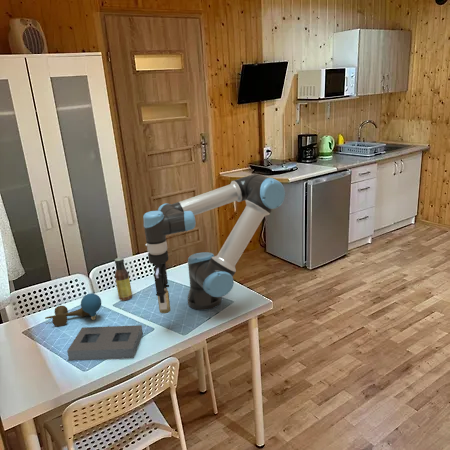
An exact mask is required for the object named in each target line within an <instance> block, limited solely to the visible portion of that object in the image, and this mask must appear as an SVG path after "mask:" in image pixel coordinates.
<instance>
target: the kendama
mask: <svg viewBox="0 0 450 450" xmlns="http://www.w3.org/2000/svg"><path fill="white" fill-rule="evenodd" d="M68 311H69V310H68V307H66V306H65V305H57V306H56V307H55V308H54V315H49V316H46V317H45V316H44V319H45V320H47V319H52V324H53V325H54V327H58V328H59V327H64V326H65V325H67V323H68V317H82V318H84V317H86V316H87V317H88V316H90V314H89V313H86V312H85V311H83V309H82V308H81V307H80V308H79V309H75V310H73V311H69V312H68ZM90 317H91V316H90Z"/></svg>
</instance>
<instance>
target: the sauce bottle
mask: <svg viewBox="0 0 450 450" xmlns="http://www.w3.org/2000/svg"><path fill="white" fill-rule="evenodd" d="M114 263H115V268H116V269H115V271H114V277H115V283H116V284H115V285H116V288H117V289H116V290H117V295H118V299H119V300H120V301H122V302H123V301H129V300H131V299H132V297H133V291H132V286H131V282H130V281H131V279H130V275H129V272H128V270H127V268H126V267H125V261H124V258H123V257H117V258H115V259H114Z"/></svg>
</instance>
